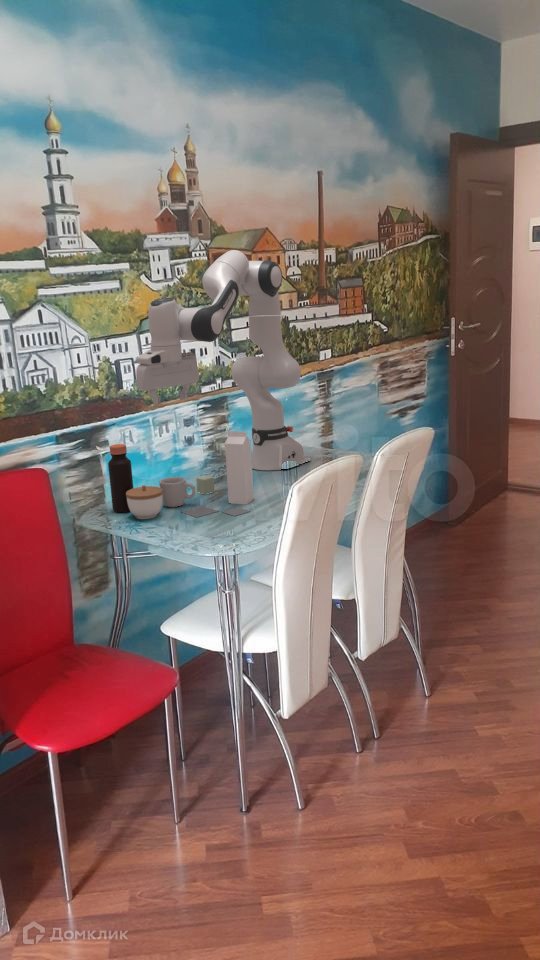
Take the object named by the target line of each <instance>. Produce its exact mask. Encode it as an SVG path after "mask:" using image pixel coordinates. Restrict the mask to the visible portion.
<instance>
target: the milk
mask: <svg viewBox="0 0 540 960" xmlns="http://www.w3.org/2000/svg"><path fill="white" fill-rule="evenodd" d="M227 434H228V435H227V438H226V440H225V443H224V449H225V450H224V453H225V466H226V467H225V468H226V481H227V482H226V483H227V497H228V504H229V503H231V504H232V505H248V504H250V503H251V502H252V501H253V500H254V499H255V497H254V496H255V495H254V481H253V480H254V479H253V478H254V477H253V468H252V444H251V443H252V442H251V439H250V438H249V437H247V432H246V431H237V430H229V431H228V432H227Z"/></svg>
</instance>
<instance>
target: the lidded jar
mask: <svg viewBox="0 0 540 960" xmlns="http://www.w3.org/2000/svg"><path fill="white" fill-rule="evenodd" d="M126 497H127V503H128V507H129V510H130V512H131V514H132V515H133V516H135V518H136V519H138V520H149V519H154V518H156V517H158V514H159V513H160V512H161V510H162V508H163V504H164V503H163V490H162V489H161V488H160V486H155V485H153V486H152V485H149V486H146V485H145V484H144V485H141V486H138V487H133V489H130V490H128V491H127V492H126Z"/></svg>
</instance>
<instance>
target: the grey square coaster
mask: <svg viewBox="0 0 540 960" xmlns="http://www.w3.org/2000/svg"><path fill="white" fill-rule="evenodd" d="M222 512H223V514H225V513H226V514H227V515H228V514H229V516H232V517H236V516H237V517H238V516H241V515H245V514H247V513H251V510H249V509H244V508H243V507H238V506H237V507H233V508H231V509H230V508H229V509H227V510H223V511H222Z"/></svg>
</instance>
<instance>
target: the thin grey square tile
mask: <svg viewBox="0 0 540 960" xmlns="http://www.w3.org/2000/svg"><path fill="white" fill-rule="evenodd" d="M218 511H219V510H218V509H215V508H211V507H208V506H205V505H200V506H197V507H193V508H191V509H186V510H183V511H181V512H182V513H181V514H184V513H185V515H187V514H188V516H191V517H193V516H194V517H193V518H196V517H198V518H200V517H204V515H205V516H208V515H211V514H214V513H218Z"/></svg>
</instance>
